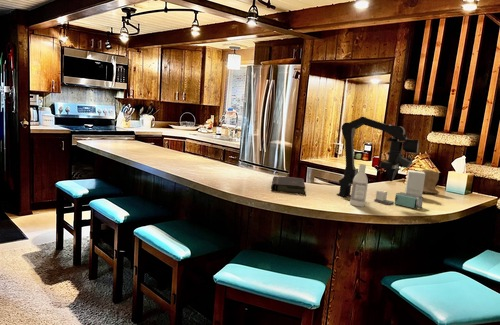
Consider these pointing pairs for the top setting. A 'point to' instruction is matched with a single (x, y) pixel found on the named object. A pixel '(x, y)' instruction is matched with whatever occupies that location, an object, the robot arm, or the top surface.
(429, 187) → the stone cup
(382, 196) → the fader knob
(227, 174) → the top surface
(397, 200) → the teal rectangular slab
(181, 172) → the top surface
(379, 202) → the mixer board
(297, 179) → the diary
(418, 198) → the rack
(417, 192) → the supplement box
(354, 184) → the bath foam
